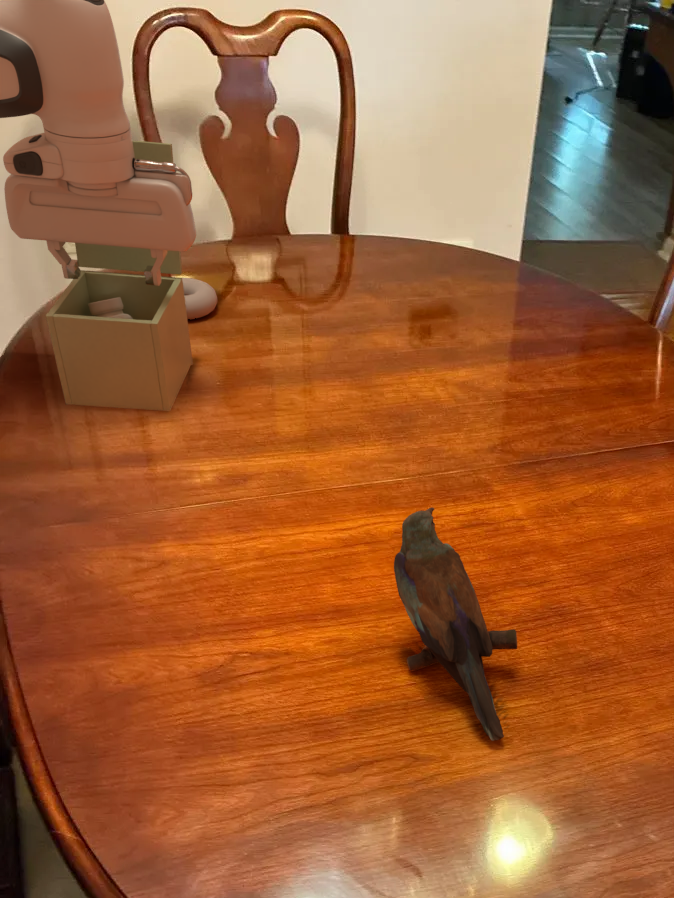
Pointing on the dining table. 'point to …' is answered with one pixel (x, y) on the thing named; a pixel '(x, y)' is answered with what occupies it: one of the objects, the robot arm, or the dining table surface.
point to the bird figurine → (447, 614)
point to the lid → (127, 255)
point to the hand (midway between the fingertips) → (113, 280)
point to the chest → (121, 342)
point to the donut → (198, 298)
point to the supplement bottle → (108, 309)
